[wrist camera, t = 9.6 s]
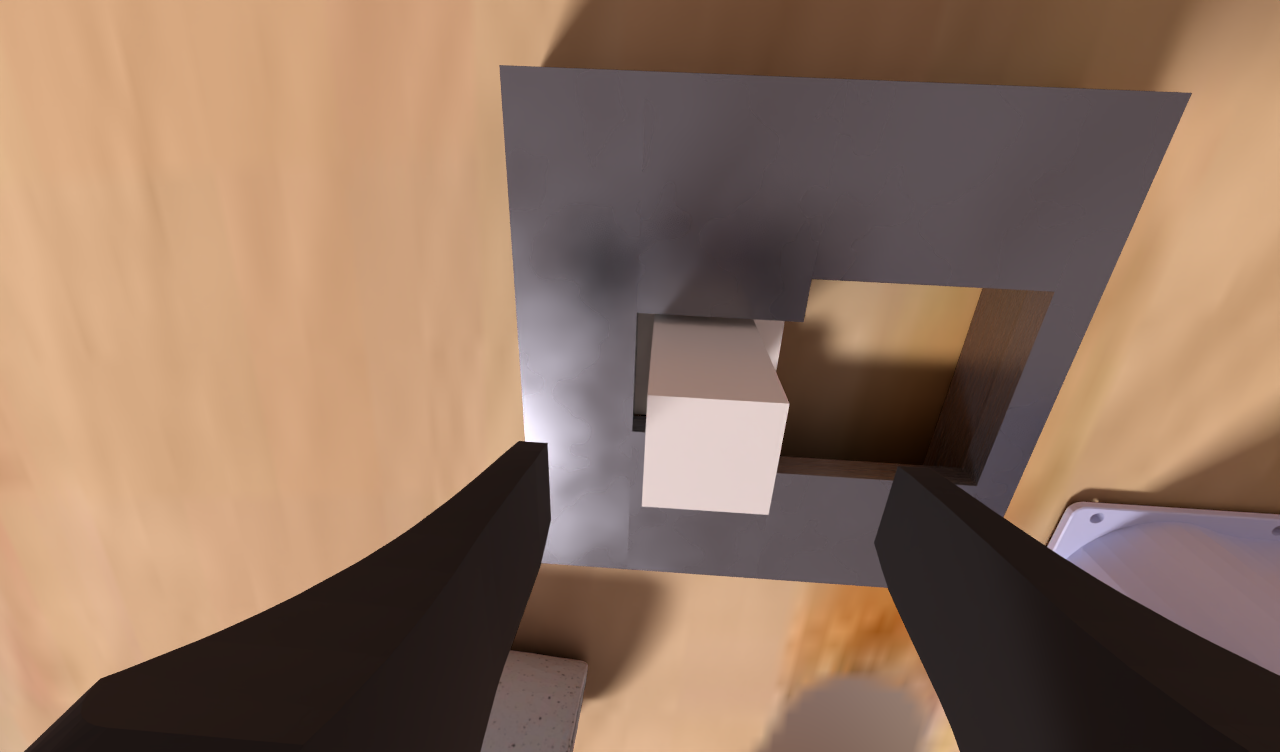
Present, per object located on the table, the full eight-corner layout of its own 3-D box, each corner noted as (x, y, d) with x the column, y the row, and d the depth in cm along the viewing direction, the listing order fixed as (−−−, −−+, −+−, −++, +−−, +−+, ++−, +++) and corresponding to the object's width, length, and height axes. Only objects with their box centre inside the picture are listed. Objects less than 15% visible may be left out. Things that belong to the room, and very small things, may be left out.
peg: (783, 259, 17) (863, 352, 10) (761, 401, 20) (811, 558, 13) (622, 251, 18) (588, 337, 10) (618, 393, 20) (589, 542, 13)
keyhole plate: (1081, 100, 15) (1192, 92, 12) (926, 526, 22) (969, 593, 19) (534, 77, 15) (499, 64, 12) (553, 501, 22) (533, 562, 19)
